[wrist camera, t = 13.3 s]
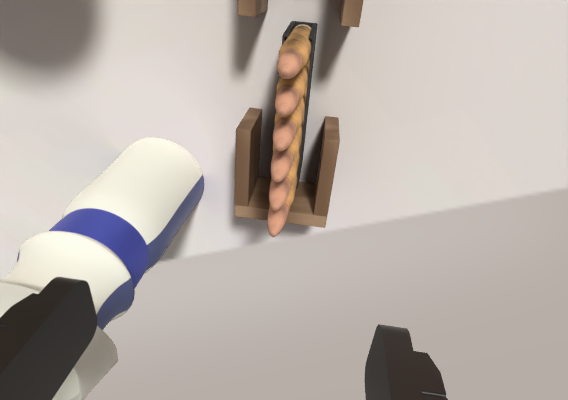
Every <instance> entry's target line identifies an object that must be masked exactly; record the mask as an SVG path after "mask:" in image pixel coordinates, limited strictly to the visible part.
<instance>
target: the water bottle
mask: <svg viewBox="0 0 568 400" xmlns="http://www.w3.org/2000/svg"><path fill="white" fill-rule="evenodd" d="M203 190H204V178H203V174H202V171H201V168H200V166H199V165H198V163H197V161H196V160H195V159H194V157H193V156H192V155H191V154H190V153H189V152H188V151H187V150H186V149H184V148H183V147H181V146H180V145H178V144H176V143H174V142H172V141H170V140H167V139H163V138H156V137H150V138H143V139H140V140H137V141H135V142H134V143H132V144H131V145H130V146H129V147H128V148H127V149H126V150H125V151H124V152H123V153H122V154H121V155H120V156H119V157H118V158H117V159H116V160H115V161H114V162H113V163H112V164H111V165H110V166H109V167H108V168H107V169H106V170H105V171H104V172H103V173H102V174H101V175H99V176H98V177H97V178H96V179H95V180H94V181H93V182H92V183H90V184H89V185H88V186H87V187H86V188H85V189H84V190H83V191H82V192H81V193H80V194H78V195H77V196H76V198H75V199H74V200H73V201H72V202H71V203H70V204H69V206H68V207H67V209H66V210H65V212H64V214H63V216H62V219H61V220H60V221H59V222H58V223H57V224H56V225H55V226H54V227H53V228H51V229H50V230H49V231H47V232H42V233H39V234H36V235H34V236H32V237H30V238H29V239H28V240H27V241H26V242H25V243H24V244H23V245H22V247H21V248H20V250H19V253H18V259H17V264H16V266H15V267H14V268H13V270H12V271H11V272H10V273H9V274H8V275H7V276H6V277H5V278H4V279H2V280H1V281H0V317H1V316H2V315H3V314H4V313H5V312H6V311H7V310H8V309H9V308H10V307H11V306H13V305H14V304H16V303H17V302H19V301H21V300H22V299H24V298H26V297H27V296H29V295H30V294H32V293H36V294H39V293H40V292H41V291H42V290H43V288H44V287H45V286H46V285H47V284H48V283H49V282H50V281H51V280H52V279H54V278H56V277H64V278H71V279H78V280H85V281H87V282H88V284H89V287H90V291H91V295H92V299H93V303H94V307H95V311H96V315H97V328H96V332H95V335H94V337H93V339H92V341H91V342H90V344H89V345H88V347H87V348H86V350H85V351H84V353H83V354H82V356H81V357H80V359H79V360H78V362H77V363H76V365H75V366H74V368H73V369H72V371H71V372H70V374H69V375H68V377H67V378H66V380H65V381H64V383H63V384H62V386H61V387H60V389H59V390H58V392H57V393H56V394H55V396H54V397H53V399H52V400H84V399H85V397H86V396H87V395H88V393H89V392H90V391H91V390H92V389H93V388H94V387H95V386H96V385H97V384H98V383H99V381H100V380H101V379H102V378H103V377H104V376H105V375H106V374H107V373H108V371H109V370H110V369H111V368H112V367H113V366H114V365H115V364H116V363H117V360H118V358H117V349H116V346H115V344H114V343H113V341H112V340H111V339H110V338H109V337H108V336H107V335H106V333H105V332H104V331H102V330H103V329H104V327H105V326H106V325H107V324H108V323H109V322H110V321H111V320H114V319H116V318H118V317H120V316H122V315H123V314H124V313H125V312H126V311H127V310H128V309H129V308H130V306H131V305H132V302H133V300H134V289H135V287H136V286H137V284H138V282H139V281H140V279H141V278H142V276H143V274H144V273H146V272H147V271H149V270H150V269H151V268H152V267H153V266H154V265H155V264H156V263H157V262H158V260H159V259H160V258H161V256H162V255H163V254H164V252H165V251H166V249H167V247H168V246H169V244H170V243H171V241H172V239H173V238H174V236H175V235H176V233H177V232H178V230H179V228H180V227H181V225H182V224H183V223H184V221H185V220H186V218H187V217H188V215H189V214H190V213H191V211H192V210H193V208H194V207H195V206H196V204H197V203H198V202H199V200H200V198H201V196H202V194H203Z"/></svg>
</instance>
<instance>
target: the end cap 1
mask: <svg viewBox="0 0 568 400" xmlns="http://www.w3.org/2000/svg"><path fill="white" fill-rule="evenodd" d="M362 5H363V0H342V4H341V11H340V22H341V26H351V27H359V23H360V17H361V11H362ZM267 8H268V0H238V15H243V16H253V17H255V16H257V15H259V14H261V13H263V12H265V11H267Z"/></svg>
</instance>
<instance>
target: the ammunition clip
mask: <svg viewBox="0 0 568 400" xmlns="http://www.w3.org/2000/svg"><path fill="white" fill-rule="evenodd" d="M316 33H317V24H316V23H307V22H297V21H292V22H291V23H290V25H289V26H288V28H287V29H286V31H285V32H284V34H283V38H282V46H281V49H280V51H279V60H278V64H277V70H278V73H279V75H280V80H279V82H278V84H277V95H276V98H275V109H276V115H275V126H274V131H273V157H272V161H271V176H272V179H271V185H270V191H269V201H270V205H269V212H268V230H269V233H270V235H271V236H272V237H275V236H276V235H278V234H279V233H280V231H281V230H282V228H283V226H284V224H285V222H286V219H287V215H288V212H289V209H290V206H291V204H292V202H293V200H294V196H295V190H296V189H298V185H299V179H300V173H301V167H302V160H303V151H304V142H305V133H306V124H307V115H308V106H309V97H310V88H311V78H312V69H313V60H314V51H315V42H316Z"/></svg>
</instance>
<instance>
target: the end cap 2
mask: <svg viewBox="0 0 568 400" xmlns="http://www.w3.org/2000/svg"><path fill="white" fill-rule="evenodd" d="M261 122H262V109H256V108H249V110H248V111H247V113H246V114H245V116H244V118H243V119H242V121H241V122H240V124H239V126H238V127H237V129H236V157H235V216H237V217H245V218H253V219H261V220H268V212H269V205H270V201H269V191H270V185H271V179H272V178H265V177H259V160H260V141H261ZM339 142H340V140H339V120H338V118H336V117H327V116H326V117H325V124H324V131H323V138H322V145H321V152H320V159H319V166H318V173H317V180H316V184H314V183H305V182H299V185H298V189H296V190H295V196H294V200H293V202H292V204H291V206H290V209H289V212H288V215H287V219H286V222H285V223H292V224H300V225H308V226H315V227H323V228H325V226H326V220H327V214H328V208H329V202H330V196H331V190H332V184H333V178H334V172H335V166H336V160H337V154H338V148H339Z"/></svg>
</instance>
